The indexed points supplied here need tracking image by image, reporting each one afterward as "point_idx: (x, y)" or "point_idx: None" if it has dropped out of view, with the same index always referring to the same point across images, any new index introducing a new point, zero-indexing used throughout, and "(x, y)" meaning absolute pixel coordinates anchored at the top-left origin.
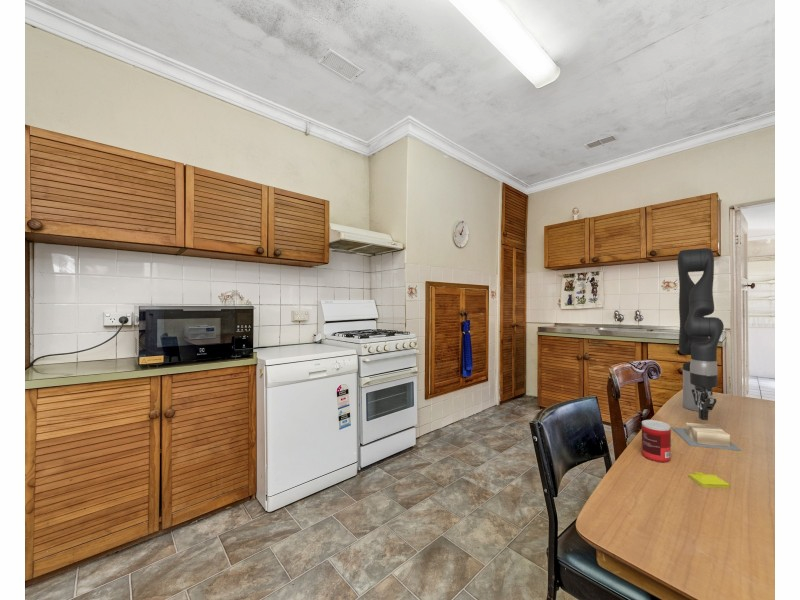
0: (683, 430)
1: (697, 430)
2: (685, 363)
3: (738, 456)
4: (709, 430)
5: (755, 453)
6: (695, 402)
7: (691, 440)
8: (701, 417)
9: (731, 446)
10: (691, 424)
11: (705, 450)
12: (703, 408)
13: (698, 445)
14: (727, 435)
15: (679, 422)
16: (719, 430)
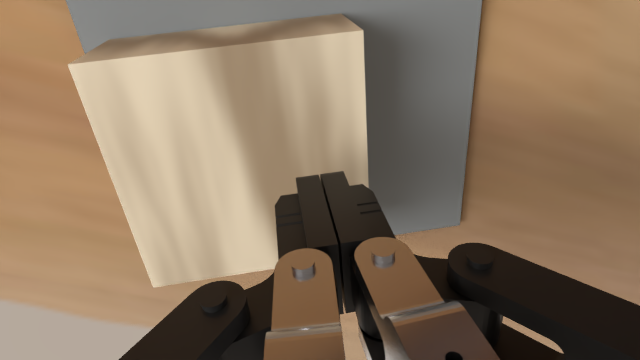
0: (415, 14)
1: (133, 79)
2: None
3: (44, 232)
4: (195, 182)
5: (163, 311)
6: (502, 263)
7: (169, 10)
8: (297, 194)
9: None
10: (319, 71)
11: (18, 65)
12: (192, 303)
13: (79, 37)
14: (151, 272)
15: (628, 44)
16: (237, 249)
